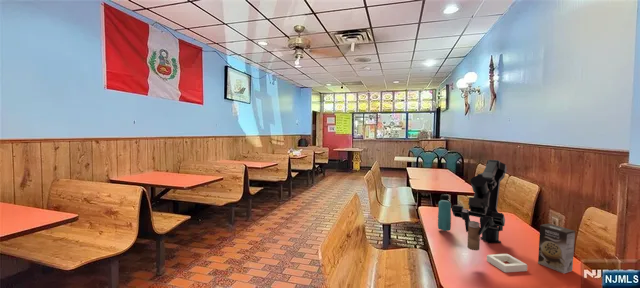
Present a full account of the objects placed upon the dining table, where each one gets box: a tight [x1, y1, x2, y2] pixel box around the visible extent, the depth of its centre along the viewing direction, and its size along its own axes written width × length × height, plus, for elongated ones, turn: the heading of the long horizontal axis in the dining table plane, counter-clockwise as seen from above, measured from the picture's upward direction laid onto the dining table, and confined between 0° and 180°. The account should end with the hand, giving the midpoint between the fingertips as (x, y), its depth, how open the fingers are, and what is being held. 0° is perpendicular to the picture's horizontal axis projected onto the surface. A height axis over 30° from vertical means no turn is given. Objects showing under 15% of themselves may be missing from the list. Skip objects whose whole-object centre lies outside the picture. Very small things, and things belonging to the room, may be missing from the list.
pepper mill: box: [467, 220, 481, 251], centre depth 109 cm, size 4×4×10 cm
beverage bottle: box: [437, 193, 452, 232], centre depth 145 cm, size 6×7×20 cm
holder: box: [486, 253, 528, 273], centre depth 109 cm, size 10×10×2 cm
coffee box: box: [537, 223, 576, 274], centre depth 107 cm, size 9×6×16 cm
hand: (472, 233), depth 108 cm, fingers closed on pepper mill, 4 cm apart
